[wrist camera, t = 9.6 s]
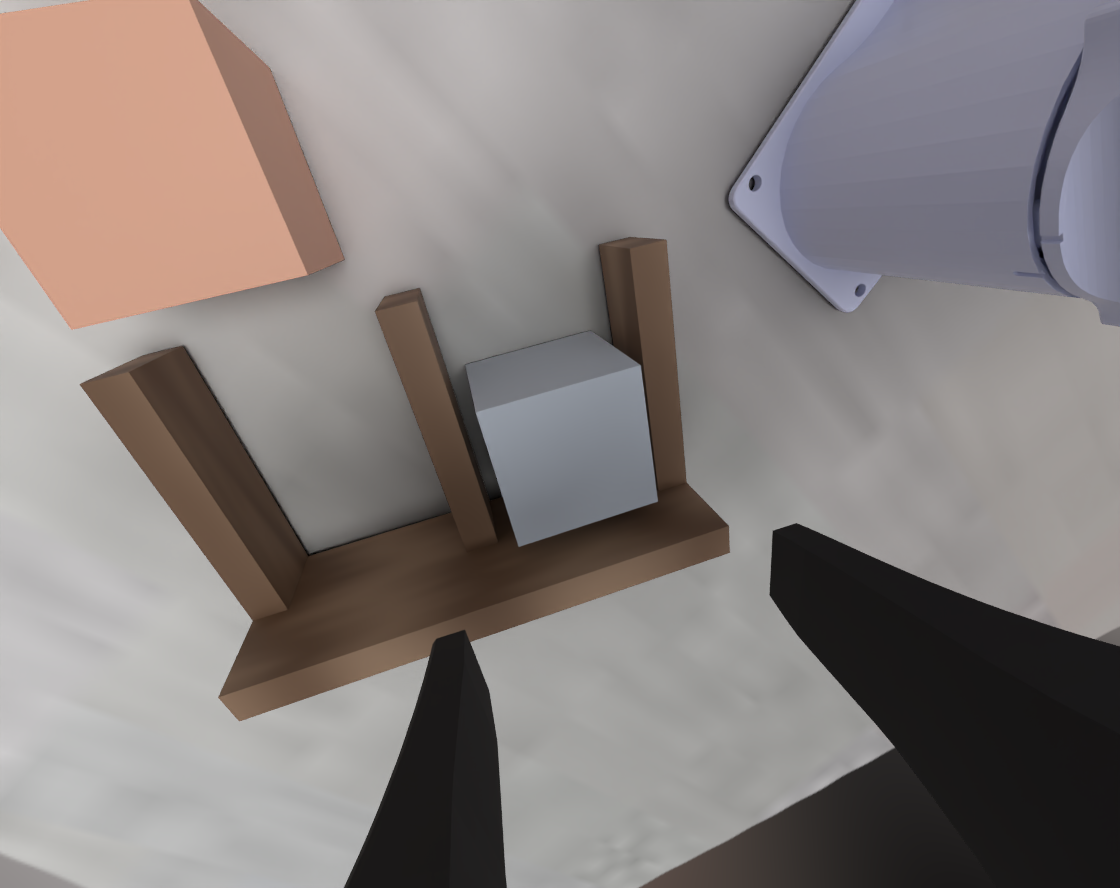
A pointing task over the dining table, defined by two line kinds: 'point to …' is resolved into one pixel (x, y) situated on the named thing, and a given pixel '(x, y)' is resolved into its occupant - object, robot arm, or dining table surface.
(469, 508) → the shelf lanes
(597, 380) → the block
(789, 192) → the robot arm
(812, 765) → the dining table surface
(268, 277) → the block
